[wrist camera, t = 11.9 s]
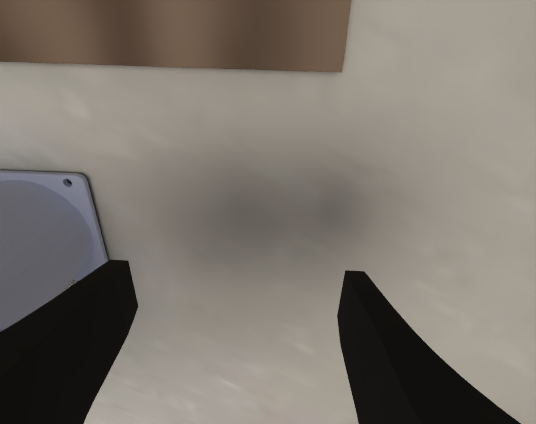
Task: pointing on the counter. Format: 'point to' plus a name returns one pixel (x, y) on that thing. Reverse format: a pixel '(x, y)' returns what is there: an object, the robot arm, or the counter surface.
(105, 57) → the mounting plate
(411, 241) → the counter surface
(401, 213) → the counter surface
